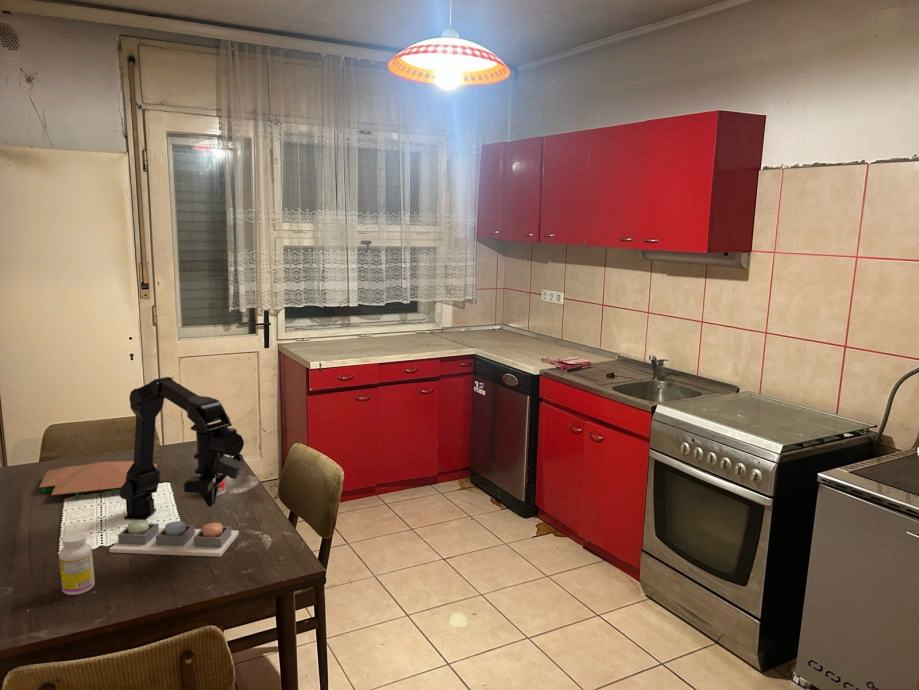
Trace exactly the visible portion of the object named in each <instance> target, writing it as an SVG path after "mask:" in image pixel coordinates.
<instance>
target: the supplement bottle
mask: <svg viewBox="0 0 919 690" xmlns="http://www.w3.org/2000/svg"><path fill="white" fill-rule="evenodd" d="M61 541H62V545H63V547H62V548H61V549H60V551H59V552H58V560H59V570H60V571H59V572H60V581H61V590H62V593H64V594H66V595H69V596H76V595H80V594H84V593H87V592H89V591H90V590H91V589H92V588H93V587H94V586H95V583H96V582H95V570H94V569H95V568H94V559H93V549H92V548H93V547H92V546H91V544H90V543H88V542H87V535H86V534H85V533H84V532H73V533H70V534H66V535H65V536H64V537H63V538H62V540H61Z"/></svg>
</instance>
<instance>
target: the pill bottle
mask: <svg viewBox="0 0 919 690" xmlns="http://www.w3.org/2000/svg"><path fill="white" fill-rule="evenodd" d="M222 475H223V474H222ZM226 483H227V482H226V477H225V478H224V479H223V480H222V481H221V482H220V485H219V488H218V493H217V497H218V496H222V495H224V494H225V493H226V491H227V488H226V487H227V484H226Z"/></svg>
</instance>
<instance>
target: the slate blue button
mask: <svg viewBox="0 0 919 690" xmlns="http://www.w3.org/2000/svg"><path fill="white" fill-rule="evenodd" d="M185 525H186V523H185V522H184V521H180V520H177V521H172V522H168V523H167V524H165V525H164V528H165V535H171V536H182V535H183V534H184V533H185V532H186V526H185Z"/></svg>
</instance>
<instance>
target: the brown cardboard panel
mask: <svg viewBox="0 0 919 690" xmlns="http://www.w3.org/2000/svg"><path fill="white" fill-rule="evenodd" d="M133 463H134V460H128V461H127V460H125V461H123V460H122V461H118V460H117V461H100V462H95V463H90V464H89V463H88V464H84V465H83V464H82V465H73V466H72V465H71V466H66V467H61V468H55V469H50V470H47V472H46V473H45V475H44V477H43V479H42V481H41V483H40V485H39V486H38V488H42V494H44V495H45V493H46V492H48V491H51V490H52V492H51V493H50V494H51V496H57V495H58V496H59V495H65V494H67V495H68V494H75V495H74V496H75V500H77V499H78V497H79V494H80V493H87V492H95V491H102V492H104V491H103V490H105V494H109V493H110V494H109V497H111V496H112V497H114V493H117V492H118V494H120V493H119V490H120V489H121V487H122V486H123V485H124V483H125V481H126V475H127V472H128V470H129V469H130V467H131V466H132V465H133ZM153 465H154V466H155V467H156V469H157V470H158V463H153ZM50 487H51V489H50ZM53 487H54V488H53ZM106 490H108V491H106ZM110 490H111V492H110ZM116 490H117V491H116ZM89 495H90V496H92V495H93V493H90V494H89V493H87V496H89ZM97 495H101V492H99V493H98V492H97ZM80 496H81V497H83V494H81V495H80Z"/></svg>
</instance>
